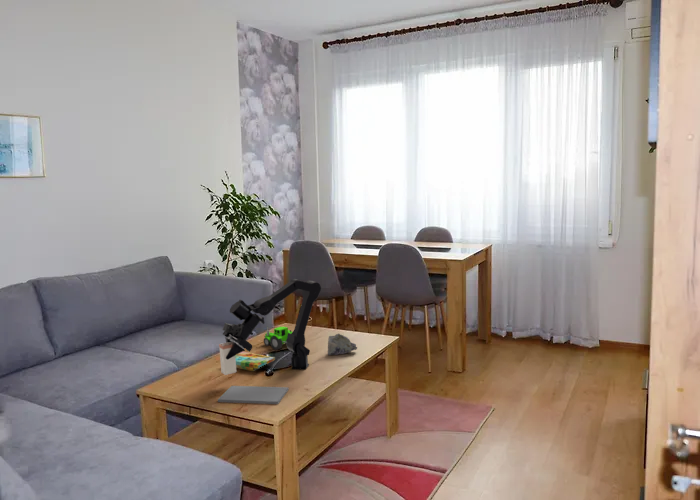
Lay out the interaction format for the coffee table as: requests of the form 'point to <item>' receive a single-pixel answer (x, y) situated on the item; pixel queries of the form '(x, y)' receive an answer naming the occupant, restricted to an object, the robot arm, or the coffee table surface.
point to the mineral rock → (339, 345)
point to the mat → (254, 394)
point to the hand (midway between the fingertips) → (224, 357)
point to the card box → (229, 364)
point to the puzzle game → (251, 361)
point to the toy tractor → (276, 337)
